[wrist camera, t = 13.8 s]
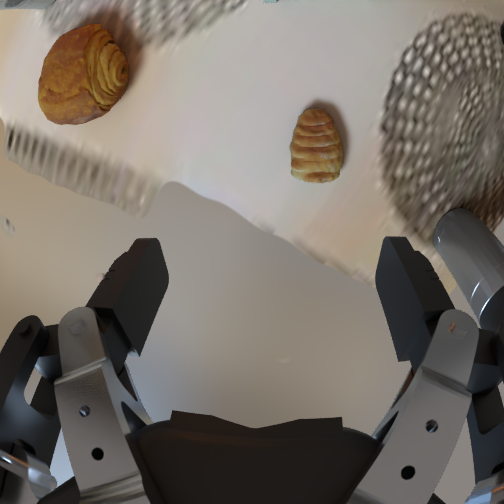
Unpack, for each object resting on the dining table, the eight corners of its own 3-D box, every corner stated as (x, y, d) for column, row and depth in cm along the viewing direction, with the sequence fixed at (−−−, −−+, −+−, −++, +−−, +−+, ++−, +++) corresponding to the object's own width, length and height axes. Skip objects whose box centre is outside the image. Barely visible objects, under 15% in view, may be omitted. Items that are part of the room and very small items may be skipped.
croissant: (137, 113, 35) (117, 126, 29) (51, 123, 33) (22, 139, 27) (140, 19, 26) (119, 12, 20) (48, 40, 25) (17, 42, 18)
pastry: (286, 108, 32) (287, 112, 29) (340, 107, 31) (347, 111, 28) (290, 176, 37) (292, 188, 34) (340, 175, 36) (346, 186, 33)
